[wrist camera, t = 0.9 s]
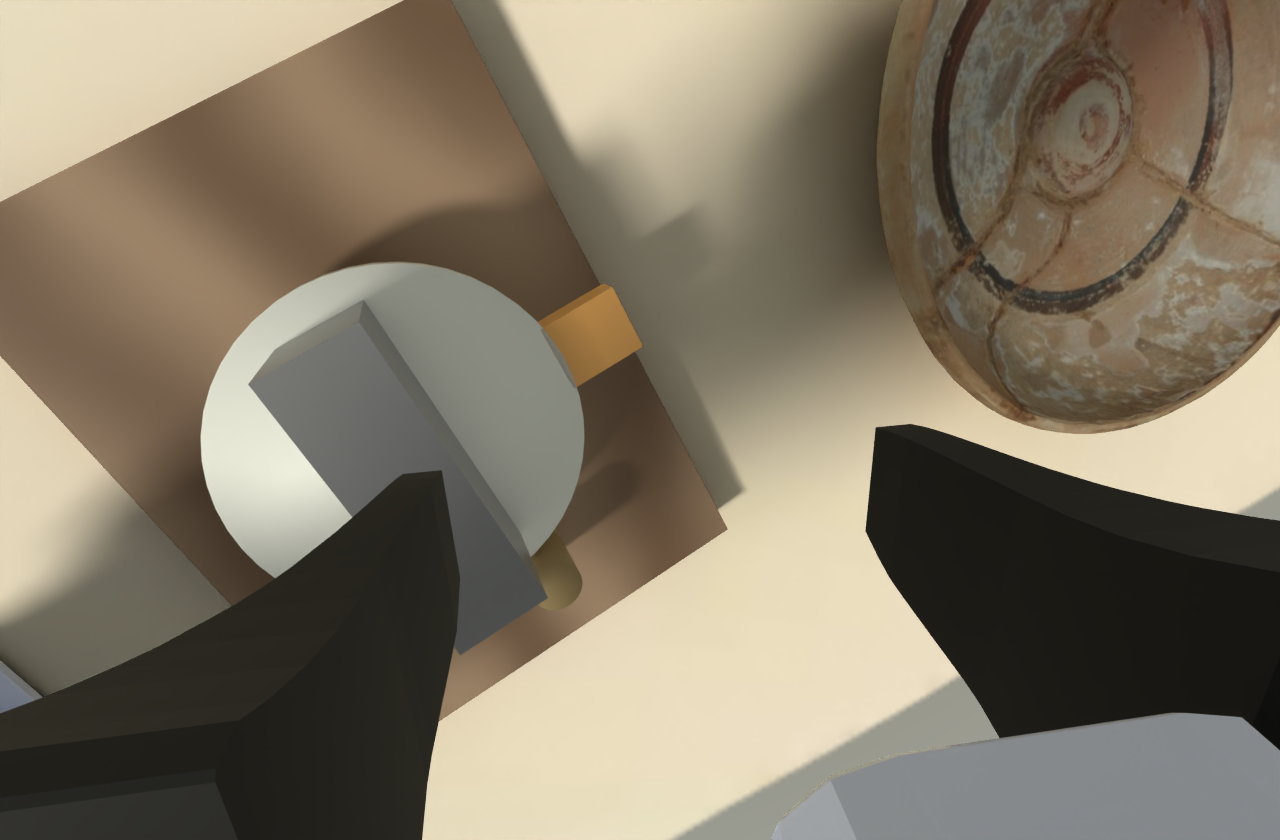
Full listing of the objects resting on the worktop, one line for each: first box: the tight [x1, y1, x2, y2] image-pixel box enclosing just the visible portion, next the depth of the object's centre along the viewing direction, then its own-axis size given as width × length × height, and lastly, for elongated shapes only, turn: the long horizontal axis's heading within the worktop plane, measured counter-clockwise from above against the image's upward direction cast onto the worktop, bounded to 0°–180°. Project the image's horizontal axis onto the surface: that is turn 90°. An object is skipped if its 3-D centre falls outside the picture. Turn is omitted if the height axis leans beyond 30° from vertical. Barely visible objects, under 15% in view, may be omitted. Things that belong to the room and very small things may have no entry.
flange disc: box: [201, 261, 643, 655], centre depth 19 cm, size 12×10×5 cm
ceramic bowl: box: [877, 0, 1280, 434], centre depth 28 cm, size 23×24×5 cm
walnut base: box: [0, 0, 727, 721], centre depth 22 cm, size 15×20×5 cm
